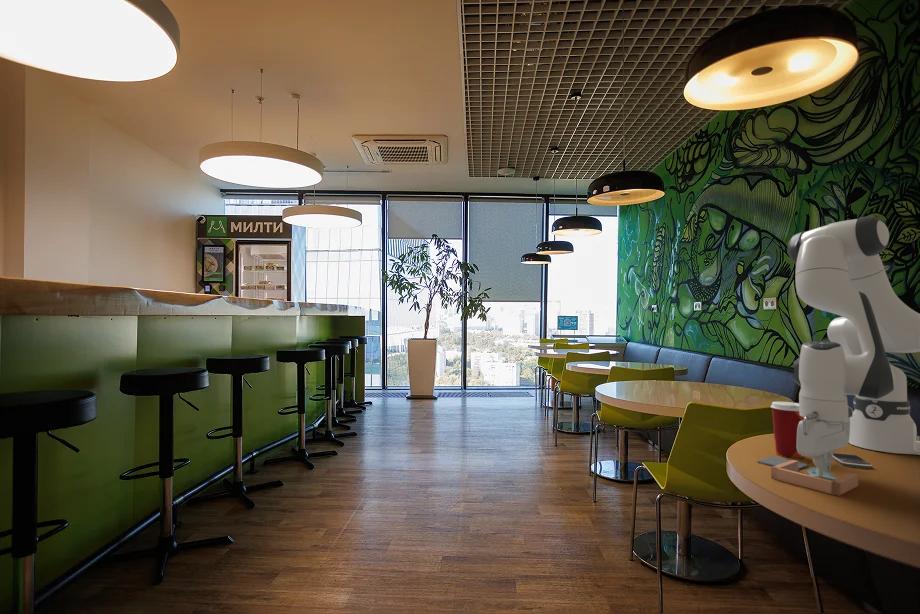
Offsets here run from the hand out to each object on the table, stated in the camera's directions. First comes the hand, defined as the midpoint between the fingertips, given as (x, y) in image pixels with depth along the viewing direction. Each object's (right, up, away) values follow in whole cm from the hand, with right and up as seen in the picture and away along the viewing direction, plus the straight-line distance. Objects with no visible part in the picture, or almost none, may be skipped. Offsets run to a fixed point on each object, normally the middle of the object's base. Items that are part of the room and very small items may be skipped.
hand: (823, 470), depth 104 cm
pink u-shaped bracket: (-5, -2, -3) cm, 6 cm away
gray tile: (-3, -2, +9) cm, 10 cm away
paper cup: (+5, -3, +18) cm, 19 cm away
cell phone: (+17, -3, +12) cm, 21 cm away
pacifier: (-3, -2, -4) cm, 5 cm away
